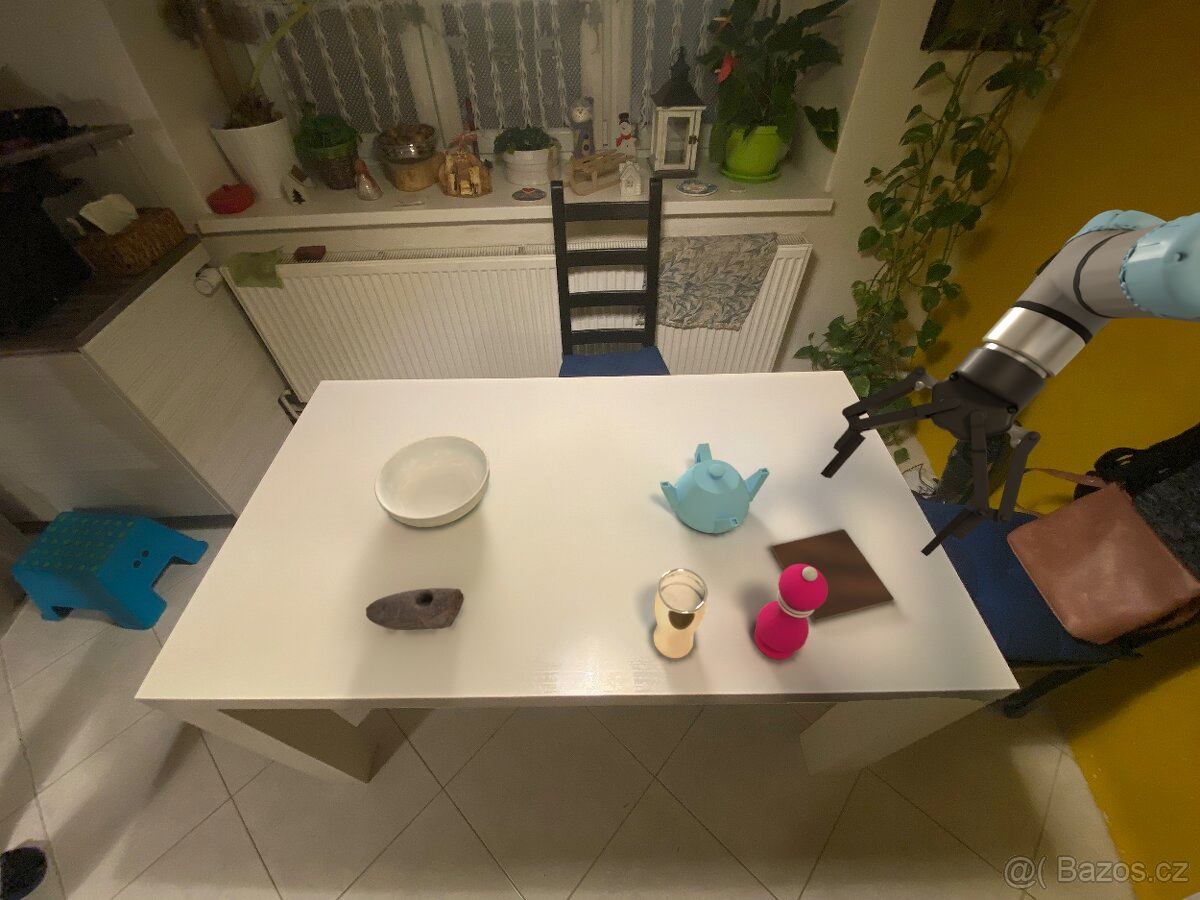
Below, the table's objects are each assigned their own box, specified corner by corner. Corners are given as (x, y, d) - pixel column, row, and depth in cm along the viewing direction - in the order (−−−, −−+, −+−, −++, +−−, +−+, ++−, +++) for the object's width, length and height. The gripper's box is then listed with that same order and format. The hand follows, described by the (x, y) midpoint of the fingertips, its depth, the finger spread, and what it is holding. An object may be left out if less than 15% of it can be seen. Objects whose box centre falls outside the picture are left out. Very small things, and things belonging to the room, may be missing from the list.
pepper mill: (751, 659, 75) (784, 592, 61) (749, 614, 80) (779, 542, 66) (802, 667, 75) (847, 600, 60) (797, 620, 80) (837, 549, 65)
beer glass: (697, 621, 80) (710, 570, 69) (695, 665, 75) (708, 618, 64) (652, 614, 81) (658, 563, 70) (648, 657, 76) (653, 609, 65)
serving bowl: (499, 455, 106) (494, 431, 101) (489, 538, 91) (482, 515, 87) (399, 460, 106) (389, 436, 101) (373, 544, 91) (359, 521, 86)
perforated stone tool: (368, 637, 79) (351, 616, 74) (377, 606, 83) (362, 584, 78) (464, 633, 79) (454, 612, 74) (469, 602, 83) (460, 580, 78)
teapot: (765, 501, 96) (778, 462, 89) (728, 556, 88) (740, 518, 80) (694, 466, 103) (700, 427, 95) (654, 514, 94) (658, 476, 87)
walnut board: (891, 602, 81) (894, 598, 81) (813, 622, 79) (814, 619, 79) (842, 532, 91) (844, 528, 90) (770, 549, 89) (772, 545, 88)
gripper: (1141, 436, 50) (975, 587, 57) (910, 317, 63) (799, 451, 70) (1159, 427, 44) (972, 596, 51) (900, 298, 57) (780, 446, 64)
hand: (872, 512), depth 61 cm, fingers open, 13 cm apart
